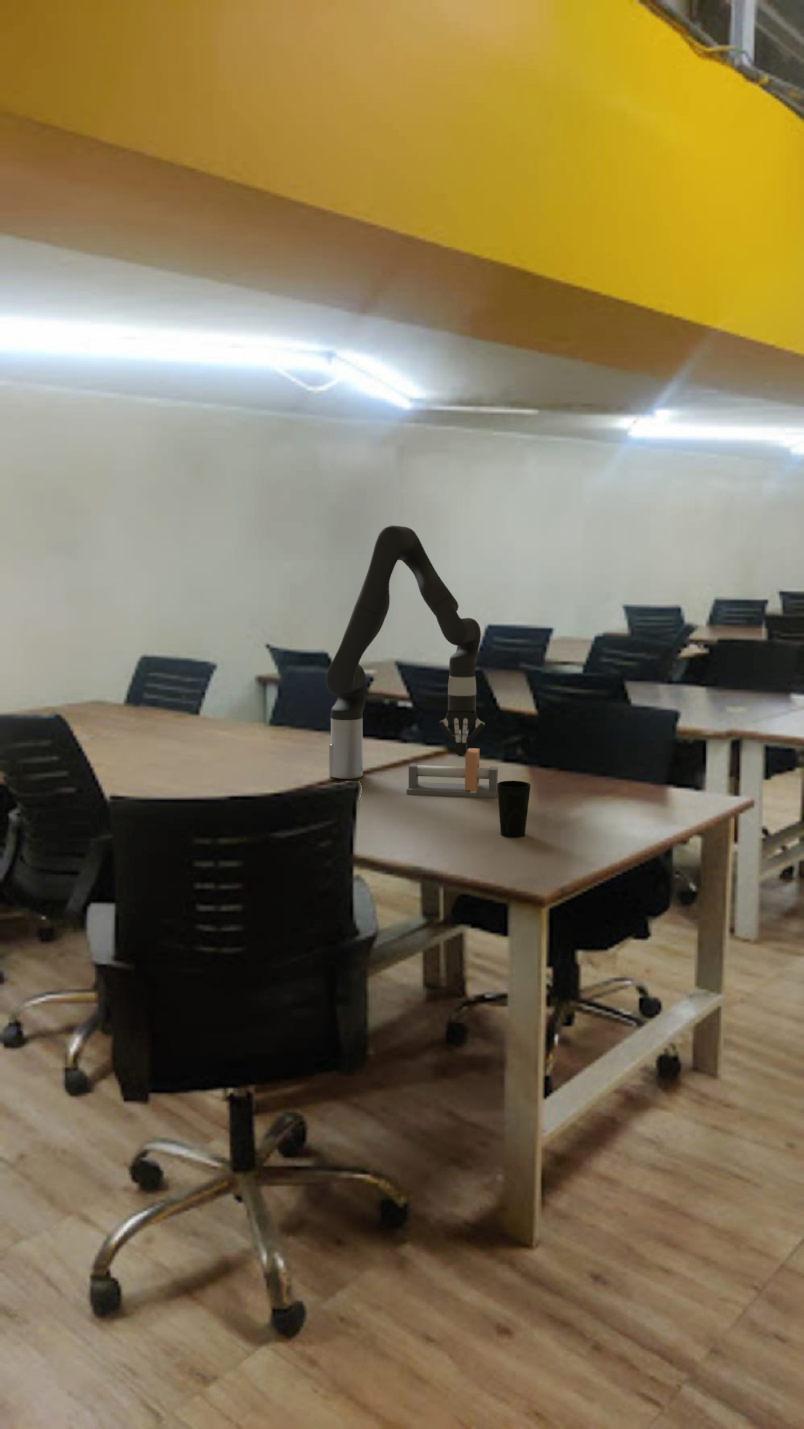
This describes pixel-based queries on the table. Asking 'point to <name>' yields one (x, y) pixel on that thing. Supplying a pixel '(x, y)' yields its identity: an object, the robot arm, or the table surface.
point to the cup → (513, 807)
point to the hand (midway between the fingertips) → (461, 755)
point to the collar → (471, 769)
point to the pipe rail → (451, 788)
